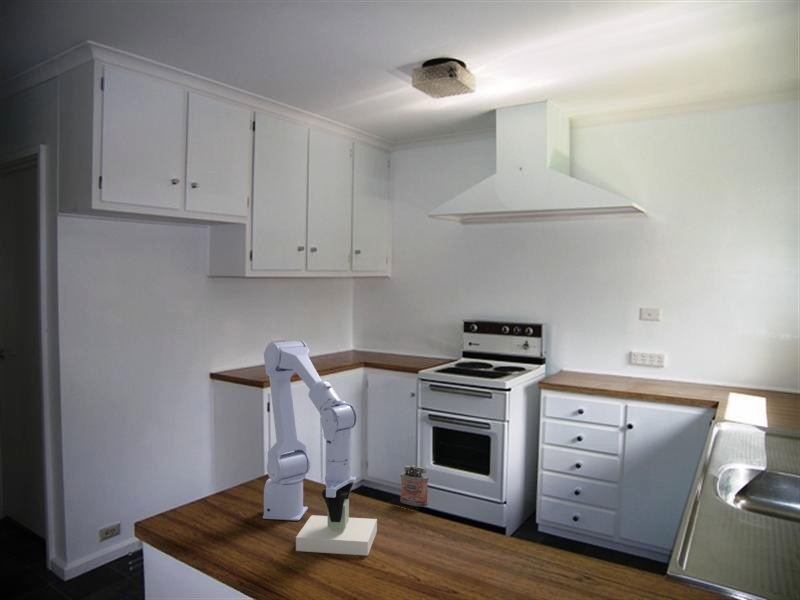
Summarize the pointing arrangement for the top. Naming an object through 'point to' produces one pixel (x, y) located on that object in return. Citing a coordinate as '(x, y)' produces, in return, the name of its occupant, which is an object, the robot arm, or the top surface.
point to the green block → (343, 519)
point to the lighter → (414, 486)
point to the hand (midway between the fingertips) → (338, 517)
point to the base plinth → (337, 536)
